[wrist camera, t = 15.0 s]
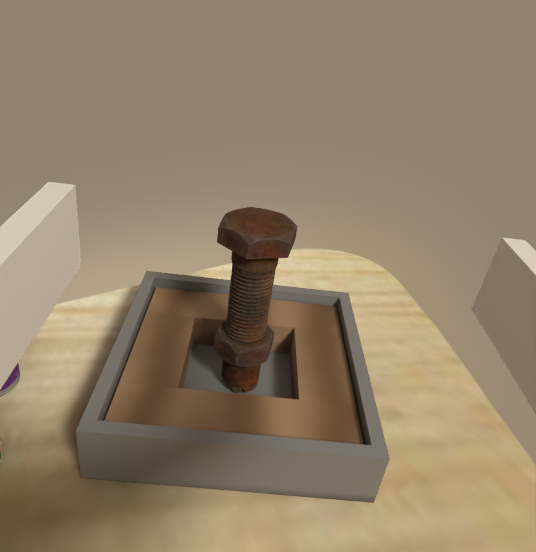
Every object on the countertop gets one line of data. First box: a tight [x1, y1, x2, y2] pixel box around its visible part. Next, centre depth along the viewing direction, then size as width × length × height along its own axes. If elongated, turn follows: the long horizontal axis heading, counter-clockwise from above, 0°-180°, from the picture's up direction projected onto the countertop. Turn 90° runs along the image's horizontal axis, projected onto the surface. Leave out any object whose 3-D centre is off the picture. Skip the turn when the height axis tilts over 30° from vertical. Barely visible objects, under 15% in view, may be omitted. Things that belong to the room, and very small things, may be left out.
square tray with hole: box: [104, 287, 364, 445], centre depth 41 cm, size 18×18×3 cm
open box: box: [76, 271, 389, 503], centre depth 41 cm, size 20×20×4 cm
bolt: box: [214, 207, 297, 393], centre depth 38 cm, size 6×5×15 cm
